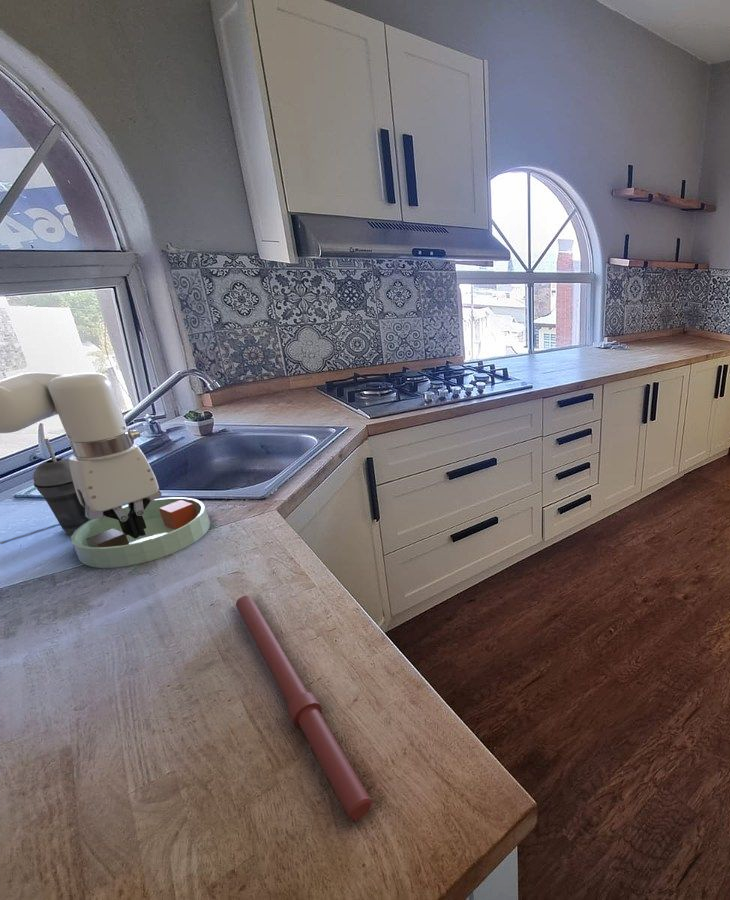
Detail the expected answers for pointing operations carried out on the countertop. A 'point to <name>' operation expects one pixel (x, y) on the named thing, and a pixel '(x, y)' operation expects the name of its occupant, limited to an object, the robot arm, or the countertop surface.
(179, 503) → the terracotta block
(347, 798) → the rolling pin
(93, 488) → the robot arm
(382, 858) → the countertop surface
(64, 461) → the beverage cup
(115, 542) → the walnut block
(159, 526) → the bowl
